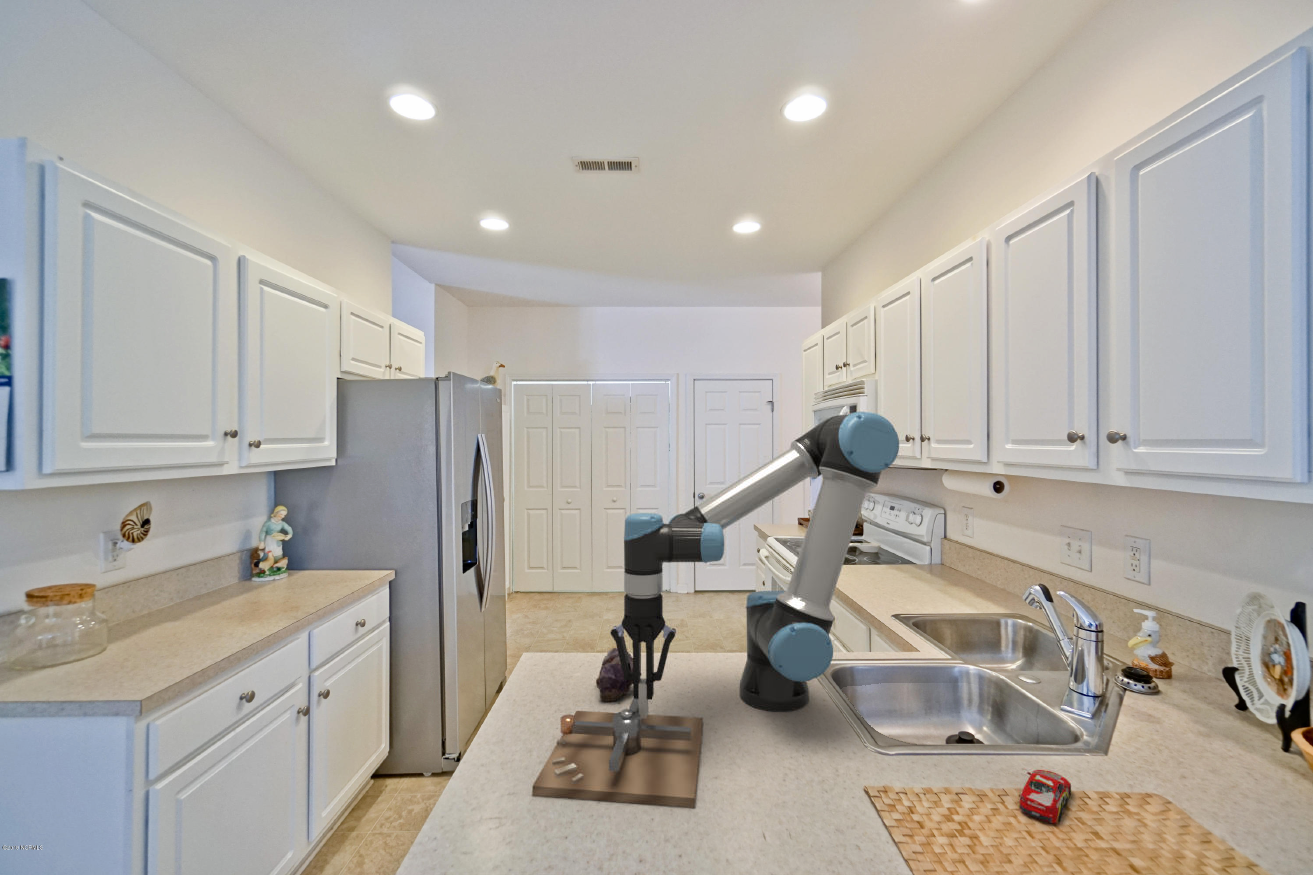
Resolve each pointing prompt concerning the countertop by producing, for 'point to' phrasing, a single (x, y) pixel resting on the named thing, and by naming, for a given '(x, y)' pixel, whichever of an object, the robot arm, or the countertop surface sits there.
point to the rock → (613, 677)
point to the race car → (1045, 795)
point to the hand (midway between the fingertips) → (643, 714)
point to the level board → (624, 766)
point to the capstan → (624, 732)
